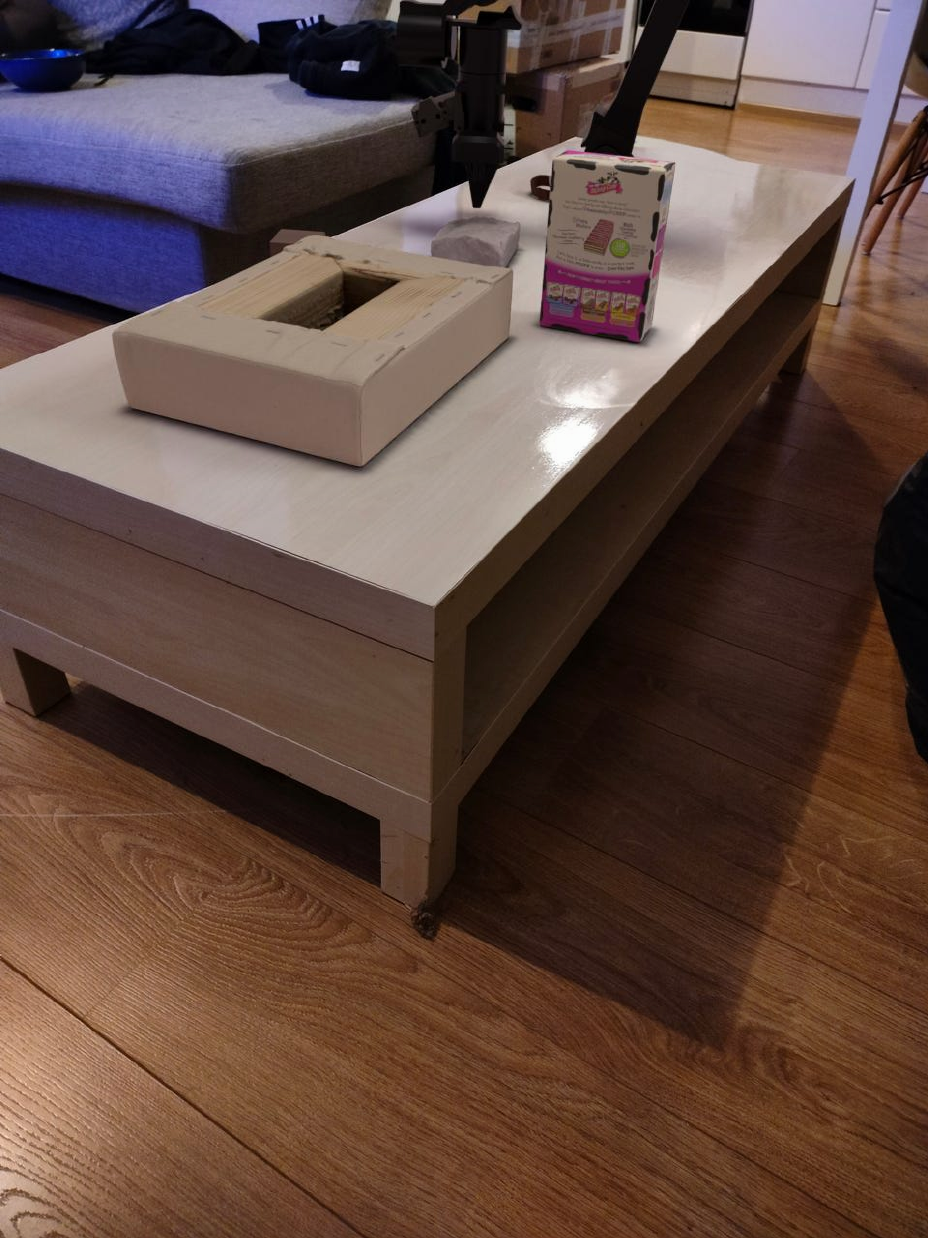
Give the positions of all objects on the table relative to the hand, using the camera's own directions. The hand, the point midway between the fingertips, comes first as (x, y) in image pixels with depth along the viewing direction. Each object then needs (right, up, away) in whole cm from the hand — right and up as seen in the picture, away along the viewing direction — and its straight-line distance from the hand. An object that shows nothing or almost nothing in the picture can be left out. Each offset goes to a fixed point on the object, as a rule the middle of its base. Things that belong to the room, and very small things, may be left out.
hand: (476, 207), depth 126 cm
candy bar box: (+12, -23, -24) cm, 35 cm away
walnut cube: (-20, -16, -16) cm, 30 cm away
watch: (+11, +8, +17) cm, 22 cm away
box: (-14, -31, -35) cm, 49 cm away
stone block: (-1, -9, -7) cm, 11 cm away
